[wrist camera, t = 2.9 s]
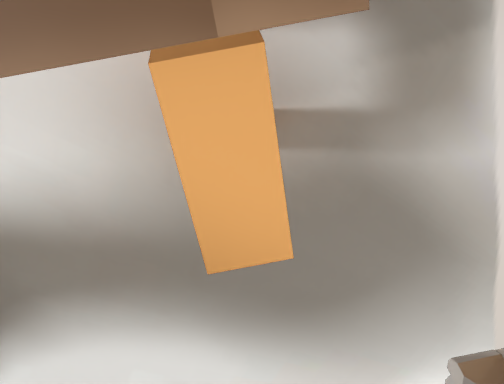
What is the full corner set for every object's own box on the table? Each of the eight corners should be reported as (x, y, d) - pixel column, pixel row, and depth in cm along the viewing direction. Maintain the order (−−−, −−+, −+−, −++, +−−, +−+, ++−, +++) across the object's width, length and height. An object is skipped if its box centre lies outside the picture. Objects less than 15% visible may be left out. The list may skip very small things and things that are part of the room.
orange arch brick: (260, 137, 32) (293, 258, 22) (201, 149, 32) (207, 274, 22) (235, -22, 26) (264, 42, 16) (163, -9, 26) (148, 63, 16)
